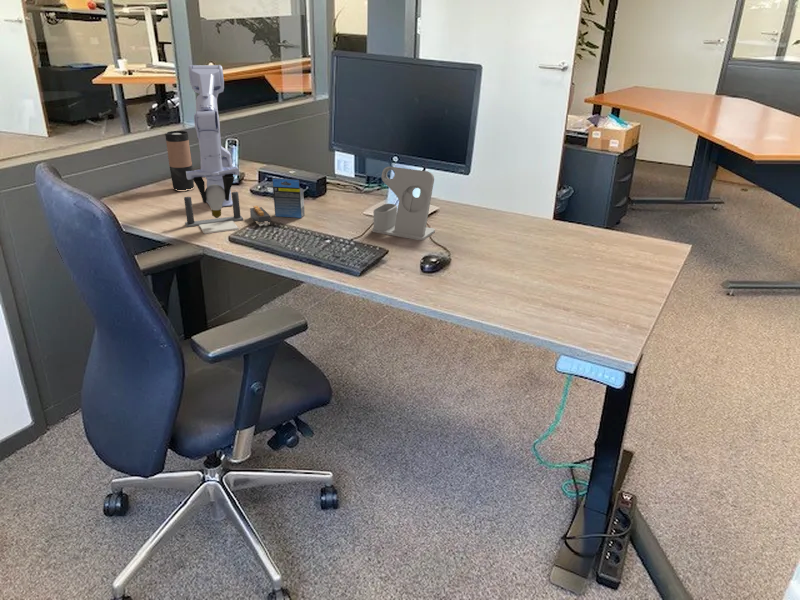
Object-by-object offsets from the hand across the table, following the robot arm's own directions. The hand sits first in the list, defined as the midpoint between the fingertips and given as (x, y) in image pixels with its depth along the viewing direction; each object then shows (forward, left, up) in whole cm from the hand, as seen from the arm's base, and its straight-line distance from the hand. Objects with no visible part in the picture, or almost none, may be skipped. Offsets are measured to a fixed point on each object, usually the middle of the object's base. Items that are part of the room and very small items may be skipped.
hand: (215, 201), depth 183 cm
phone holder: (+25, +49, -8) cm, 56 cm away
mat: (0, 0, -8) cm, 8 cm away
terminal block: (-1, +13, -8) cm, 15 cm away
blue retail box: (-3, +23, -8) cm, 25 cm away
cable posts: (-6, 0, -8) cm, 10 cm away
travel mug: (-49, -2, -8) cm, 50 cm away
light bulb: (0, 0, -5) cm, 5 cm away
